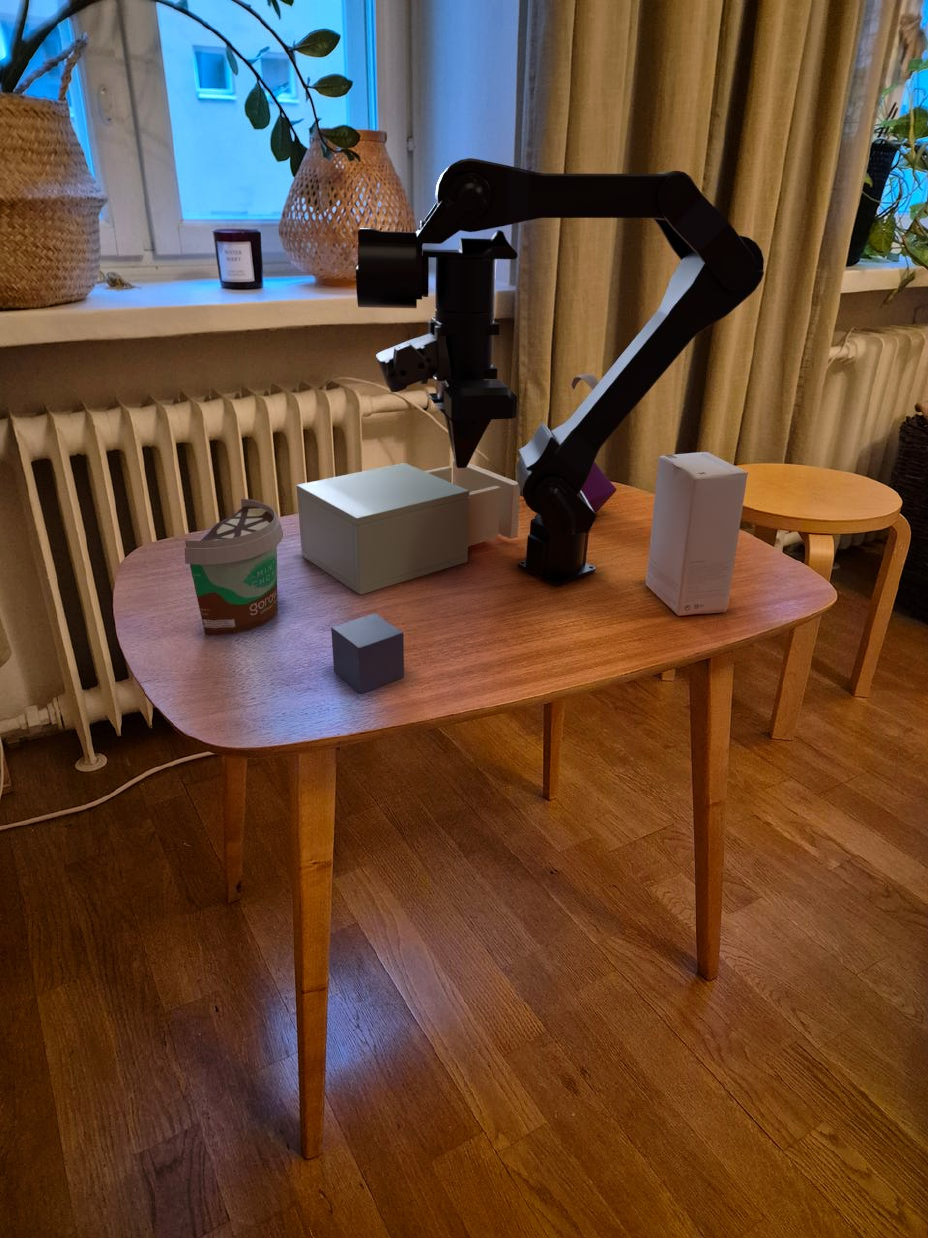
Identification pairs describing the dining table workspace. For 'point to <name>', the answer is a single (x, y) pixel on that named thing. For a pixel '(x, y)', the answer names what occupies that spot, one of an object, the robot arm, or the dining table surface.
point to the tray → (486, 501)
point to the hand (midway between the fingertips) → (460, 466)
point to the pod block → (368, 652)
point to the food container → (237, 570)
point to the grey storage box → (383, 525)
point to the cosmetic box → (695, 531)
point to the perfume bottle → (595, 466)
